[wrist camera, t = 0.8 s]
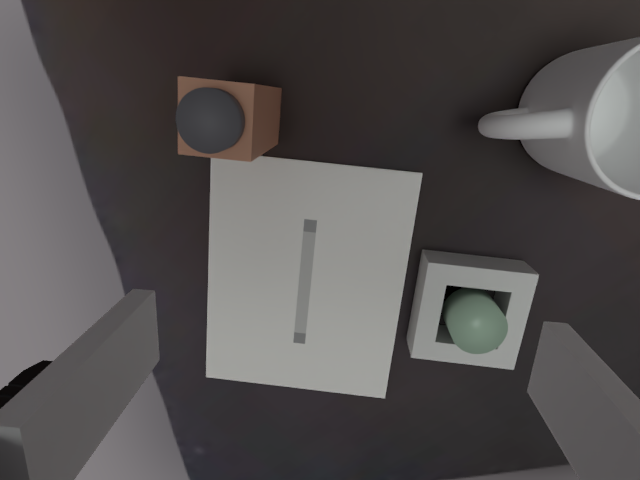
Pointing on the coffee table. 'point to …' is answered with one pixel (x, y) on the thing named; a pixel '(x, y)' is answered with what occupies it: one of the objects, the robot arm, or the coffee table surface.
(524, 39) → the coffee table surface
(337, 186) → the paper
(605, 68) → the mug
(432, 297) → the button housing
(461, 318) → the button
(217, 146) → the block with dark dome
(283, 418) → the coffee table surface
